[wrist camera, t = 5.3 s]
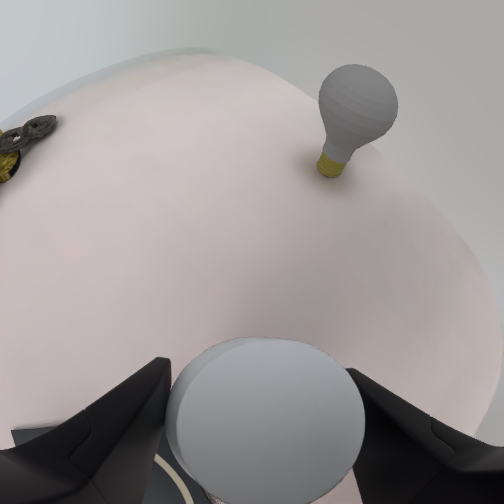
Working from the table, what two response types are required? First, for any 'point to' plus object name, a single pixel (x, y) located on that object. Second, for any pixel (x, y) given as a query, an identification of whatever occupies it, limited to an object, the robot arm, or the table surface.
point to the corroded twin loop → (26, 133)
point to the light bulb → (353, 113)
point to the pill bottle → (265, 421)
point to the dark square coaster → (151, 474)
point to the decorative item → (8, 164)
